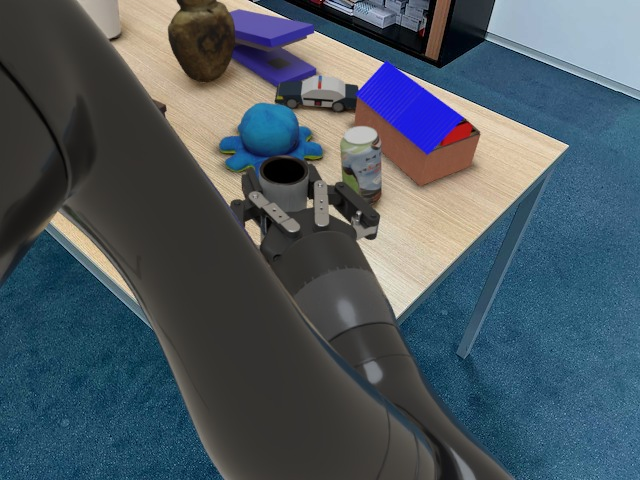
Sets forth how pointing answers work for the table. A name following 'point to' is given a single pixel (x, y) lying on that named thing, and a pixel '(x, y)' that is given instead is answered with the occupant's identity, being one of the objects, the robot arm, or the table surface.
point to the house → (415, 126)
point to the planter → (285, 182)
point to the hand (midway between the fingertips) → (275, 171)
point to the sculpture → (202, 38)
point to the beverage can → (362, 162)
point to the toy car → (317, 93)
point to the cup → (104, 15)
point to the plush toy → (268, 138)
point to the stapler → (270, 46)
